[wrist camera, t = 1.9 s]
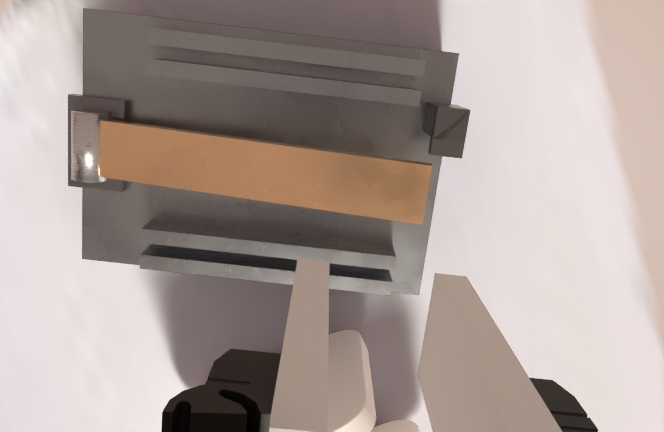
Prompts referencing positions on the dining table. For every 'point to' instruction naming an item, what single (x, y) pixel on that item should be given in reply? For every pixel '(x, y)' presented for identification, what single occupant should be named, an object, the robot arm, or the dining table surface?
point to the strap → (248, 168)
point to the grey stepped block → (269, 125)
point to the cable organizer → (354, 388)
